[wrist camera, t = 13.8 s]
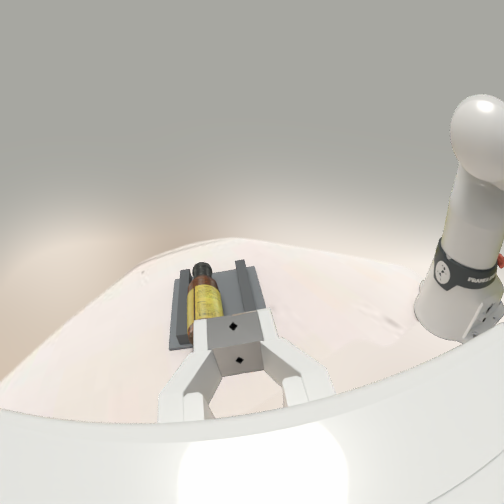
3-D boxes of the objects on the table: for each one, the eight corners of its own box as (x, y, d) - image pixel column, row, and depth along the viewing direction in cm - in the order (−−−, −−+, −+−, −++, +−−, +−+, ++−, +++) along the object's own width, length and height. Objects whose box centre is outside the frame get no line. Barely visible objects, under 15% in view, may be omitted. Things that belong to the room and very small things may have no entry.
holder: (254, 267, 64) (253, 256, 63) (273, 334, 48) (272, 322, 46) (175, 281, 63) (171, 270, 61) (169, 350, 46) (164, 339, 45)
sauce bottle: (234, 342, 44) (225, 270, 61) (210, 320, 41) (207, 250, 58) (202, 358, 45) (201, 285, 62) (176, 338, 42) (182, 266, 59)
